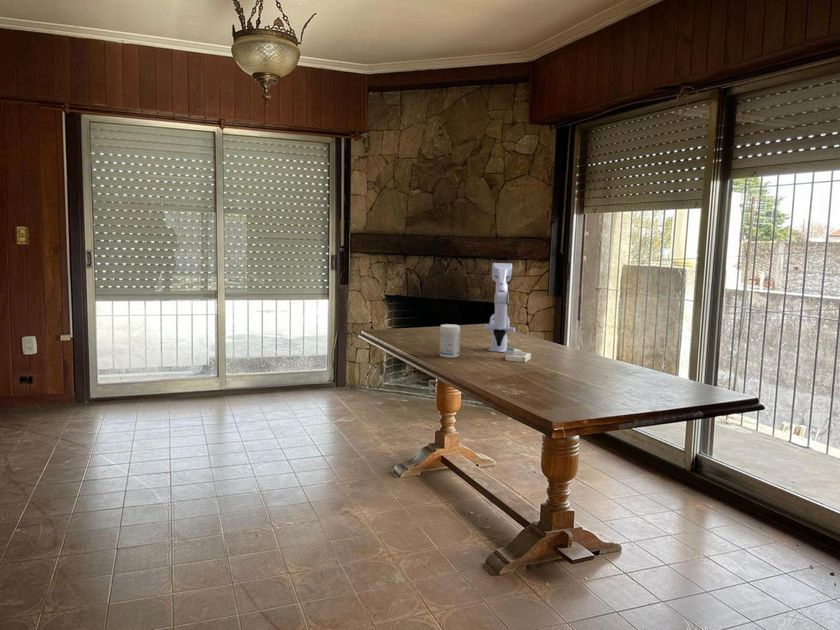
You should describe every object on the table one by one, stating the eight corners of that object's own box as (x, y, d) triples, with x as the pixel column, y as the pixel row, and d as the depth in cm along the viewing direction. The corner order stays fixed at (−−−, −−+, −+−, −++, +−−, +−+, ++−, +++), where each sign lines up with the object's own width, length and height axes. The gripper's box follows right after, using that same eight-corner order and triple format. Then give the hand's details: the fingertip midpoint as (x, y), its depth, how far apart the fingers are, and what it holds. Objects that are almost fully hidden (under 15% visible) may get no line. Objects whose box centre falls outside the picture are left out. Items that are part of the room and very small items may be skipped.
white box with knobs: (505, 357, 302) (505, 346, 301) (513, 357, 304) (514, 345, 303) (513, 360, 295) (514, 349, 295) (522, 360, 298) (523, 348, 297)
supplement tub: (450, 353, 308) (451, 323, 306) (463, 356, 300) (464, 326, 298) (434, 355, 302) (435, 324, 300) (448, 359, 294) (449, 327, 292)
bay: (511, 356, 306) (512, 351, 306) (530, 358, 302) (531, 353, 302) (505, 360, 296) (505, 355, 295) (524, 362, 292) (525, 357, 292)
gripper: (483, 317, 299) (481, 345, 301) (513, 319, 294) (511, 348, 296) (487, 315, 306) (486, 343, 308) (517, 317, 300) (515, 346, 302)
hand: (499, 345), depth 302 cm, fingers closed
